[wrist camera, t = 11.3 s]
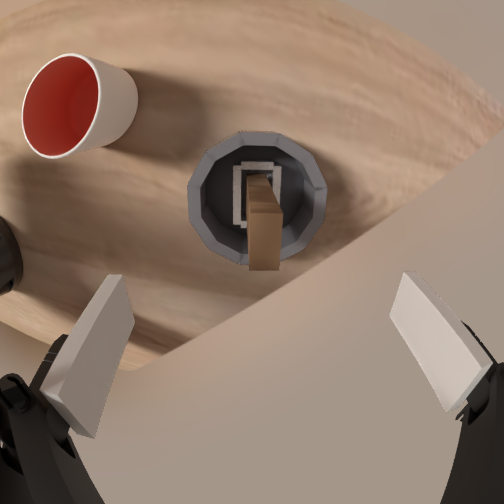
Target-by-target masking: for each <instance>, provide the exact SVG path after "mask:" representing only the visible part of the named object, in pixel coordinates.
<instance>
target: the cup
mask: <svg viewBox="0 0 504 504" xmlns="http://www.w3.org/2000/svg"><path fill="white" fill-rule="evenodd" d="M137 106H138V92H137V87H136V85H135V82H134V80H133V79H132V77H131V76H130V75H129V74H128V73H127V72H126V71H125V70H123V69H121V68H119V67H117V66H114V65H111V64H108V63H105V62H103V61H100V60H97V59H94V58H91V57H87V56H84V55H81V54H76V53H69V54H64V55H61V56H58V57H56V58H54V59H52V60H51V61H49V62H48V63H47V64H46V65H44V66H43V67H42V68H41V69H40V70H39V72H38V73H37V74H36V75H35V77H34V78H33V80H32V82H31V83H30V85H29V87H28V90H27V92H26V95H25V98H24V102H23V107H22V127H23V132H24V135H25V138H26V140H27V142H28V144H29V145H30V147H31V148H32V149H33V150H34V151H35V152H36V153H37V154H39V155H40V156H42V157H45V158H49V159H59V158H63V157H66V156H69V155H73V154H76V153H79V152H83V151H87V150H90V149H94V148H98V147H102V146H105V145H108V144H110V143H112V142H114V141H116V140H117V139H118V138H120V137H121V136H122V135H123V134H124V133H125V132H126V130H127V129H128V128H129V126H130V125H131V123H132V121H133V119H134V117H135V114H136V111H137Z"/></svg>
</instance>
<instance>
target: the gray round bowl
mask: <svg viewBox="0 0 504 504" xmlns="http://www.w3.org/2000/svg"><path fill="white" fill-rule="evenodd" d="M241 159H271V160H272V161H273V162H274V163H279V164H280V165H281V186H280V208H281V210H282V212H283V224H282V238H281V252H280V261H282V260H284V259H286V258H288V257H290V256H292V255H294V254H296V253H298V252H300V251H302V250H303V248H305V247H306V246H307V244H308V243H309V242H310V240H311V239H312V238H313V236H314V235H315V233H316V232H317V231H318V229H319V228H320V226H321V225H322V224H323V221H324V216H325V208H326V198H327V189H328V188H327V185H326V182H325V180H324V178H323V176H322V174H321V172H320V169H319V167H318V165H317V163H316V161H315V159H314V157H313V155H312V154H311V153H310V152H308V151H307V150H305V149H304V148H302V147H301V146H299V145H297V144H296V143H294V142H293V141H291V140H290V139H288V138H287V137H285V136H283V135H282V134H280V133H276V132H268V131H241V133H240V131H239V132H237V133H235V134H234V135H232V136H230V137H228V138H226V139H225V140H223V141H221V142H219V143H218V144H216V145H214V146H212V147H211V148H210V149H209V150H207V151H206V152H205V153H204V155H203V157H202V159H201V160H200V162H199V164H198V166H197V168H196V170H195V171H194V173H193V175H192V177H191V179H190V181H189V182H188V185H187V191H188V210H189V220H190V223H191V224H192V226H193V227H194V228H195V230H196V231H197V233H198V234H199V236H200V237H201V239H202V240H203V242H204V243H205V245H206V246H207V248H209V250H211V251H213V252H215V253H217V254H219V255H221V256H223V257H225V258H227V259H229V260H231V261H233V262H235V263H237V264H239V263H240V265H249V255H248V236H247V228H241V225H233V164H234V162H241ZM247 173H265V174H266V177H267V179H268V181H269V183H270V175H271V170H249V169H241V213H243V214H246V175H247Z"/></svg>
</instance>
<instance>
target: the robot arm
mask: <svg viewBox="0 0 504 504" xmlns="http://www.w3.org/2000/svg"><path fill="white" fill-rule="evenodd" d="M22 273H23V265H22V258H21V254H20V251H19V247H18V245H17V242H16V240H15V238H14V236H13V234H12V232H11V230H10V229H9V227H8V226H7V224H6V223H5V222H4V221H3V220H2V219H1V218H0V296H1V295H4V294H6V293H9V292H10V291H12V290H13V289H14V288H15V287H16V286H17V285H18V284H19V283H20V281H21V278H22ZM389 316H390V318H391V319H392V321H393V322H394V324H395V326H396V327H397V329H398V330H399V332H400V334H401V335H402V337H403V338H404V340H405V342H406V343H407V345H408V346H409V348H410V350H411V351H412V353H413V355H414V356H415V358H416V360H417V361H418V363H419V365H420V366H421V368H422V370H423V372H424V373H425V375H426V376H427V379H428V380H429V382H430V384H431V386H432V387H433V389H434V391H435V393H436V395H437V397H438V399H439V400H440V402H441V404H442V406H443V408H444V410H445V412H446V413H448V412H450V411H452V410H454V409H456V408H458V407H459V406H460V405H461V404H462V403H463V401H464V400H465V399H467V401H468V404H467V405H466V406H465V407H464V408H463V410H462V411H461V412H460V413H459V414H458V415H457V417H456V420H458V419H459V418H460V417H461V416H462V414H464V416H463V417H462V419H461V420H460V421H462V427H461V433H460V438H459V442H458V447H457V451H456V455H455V459H454V463H453V467H452V470H451V473H450V477H449V480H448V483H447V486H446V489H445V492H444V495H443V497H442V500H441V503H440V504H504V363H503V362H502V363H500V364H498V363H497V362H496V361H495V359H494V358H493V356H492V355H491V354H490V353H489V351H488V350H487V348H486V347H485V346H484V345H483V343H482V342H480V340H479V338H478V337H477V336H475V333H474V332H473V331H472V330H471V328H470V327H469V326H468V325H466V324H465V323H463V322H462V321H460V320H459V319H458V318H457V316H456V315H455V314H454V313H453V311H451V309H450V308H449V307H448V306H447V305H446V304H445V302H444V301H443V300H442V299H441V298H440V297H439V296H438V295H437V293H436V292H435V291H434V290H433V289H432V288H431V287H430V286H429V285H428V284H427V283H426V282H425V280H423V278H422V277H420V275H419V274H418V273H417V272H416V271H404V272H403V276H402V279H401V282H400V285H399V288H398V291H397V294H396V297H395V300H394V303H393V306H392V309H391V312H390V314H389ZM134 324H135V320H134V316H133V313H132V309H131V305H130V302H129V298H128V294H127V290H126V286H125V282H124V277H123V275H113V274H108V275H107V277H106V278H105V280H104V281H103V283H102V284H101V286H100V287H99V288H98V290H97V291H96V293H95V294H94V296H93V297H92V299H91V300H90V302H89V304H88V305H87V307H86V308H85V310H84V311H83V313H82V314H81V316H80V318H79V319H78V321H77V322H76V324H75V326H74V327H73V329H72V331H71V332H70V334H69V335H66V334H62V335H61V336H60V337H59V338H58V339H57V340H56V341H54V343H53V344H52V346H51V348H50V349H49V351H48V352H49V353H48V354H47V355H46V357H45V358H44V361H43V362H42V363H41V365H40V367H39V369H38V371H37V373H36V374H35V376H34V378H33V380H32V382H31V384H30V386H29V387H28V386H27V385H26V383H25V382H24V380H23V379H22V378H21V377H20V376H19V375H17V374H14V373H11V374H7V375H5V376H4V377H2V378H1V379H0V440H1V441H2V442H3V446H2V448H1V445H0V504H105V503H104V501H103V500H102V498H101V496H100V495H99V493H98V491H97V489H96V488H95V486H94V484H93V482H92V481H91V479H90V477H89V475H88V473H87V471H86V469H85V467H84V465H83V463H82V461H81V459H80V457H79V454H78V452H77V450H76V448H75V446H74V443H73V441H72V439H71V437H70V435H69V434H68V431H69V428H70V427H71V428H72V429H73V430H74V431H75V432H76V433H77V434H79V435H83V436H86V437H90V438H93V439H94V438H95V435H96V432H97V428H98V425H99V422H100V418H101V415H102V412H103V409H104V406H105V403H106V400H107V396H108V393H109V391H110V388H111V385H112V382H113V379H114V376H115V373H116V371H117V368H118V365H119V363H120V360H121V357H122V355H123V352H124V349H125V347H126V344H127V342H128V339H129V337H130V334H131V332H132V329H133V327H134Z"/></svg>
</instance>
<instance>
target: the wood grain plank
mask: <svg viewBox="0 0 504 504" xmlns="http://www.w3.org/2000/svg"><path fill="white" fill-rule="evenodd" d="M246 217H247V236H248V255H249V270H279V265H280V252H281V238H282V224H283V212H282V210H281V208H280V205H279V203H278V201H277V199H276V196H275V194H274V192H273V190H272V188H271V185H270V183H269V181H268V179H267V177H266V174H265V173H247V175H246Z"/></svg>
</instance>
